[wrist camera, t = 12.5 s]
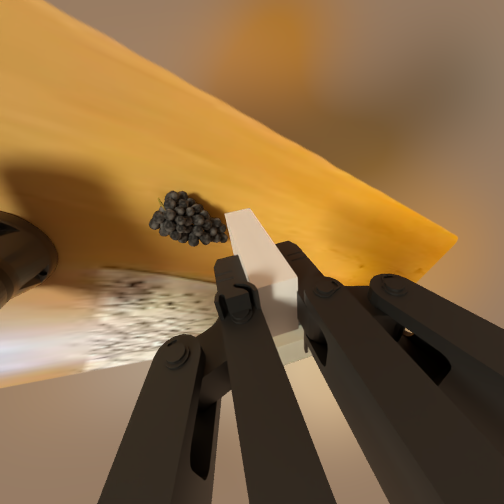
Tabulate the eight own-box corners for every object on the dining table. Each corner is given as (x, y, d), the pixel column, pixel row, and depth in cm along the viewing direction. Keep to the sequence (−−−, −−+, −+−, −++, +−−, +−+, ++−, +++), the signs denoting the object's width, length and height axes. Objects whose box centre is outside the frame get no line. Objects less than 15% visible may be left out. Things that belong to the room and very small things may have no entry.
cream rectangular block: (260, 314, 62) (279, 367, 49) (256, 295, 57) (276, 347, 44) (307, 300, 64) (337, 347, 51) (307, 281, 59) (340, 326, 46)
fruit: (239, 248, 37) (157, 203, 30) (213, 270, 42) (136, 236, 34) (239, 218, 43) (170, 174, 36) (216, 240, 48) (150, 205, 40)
